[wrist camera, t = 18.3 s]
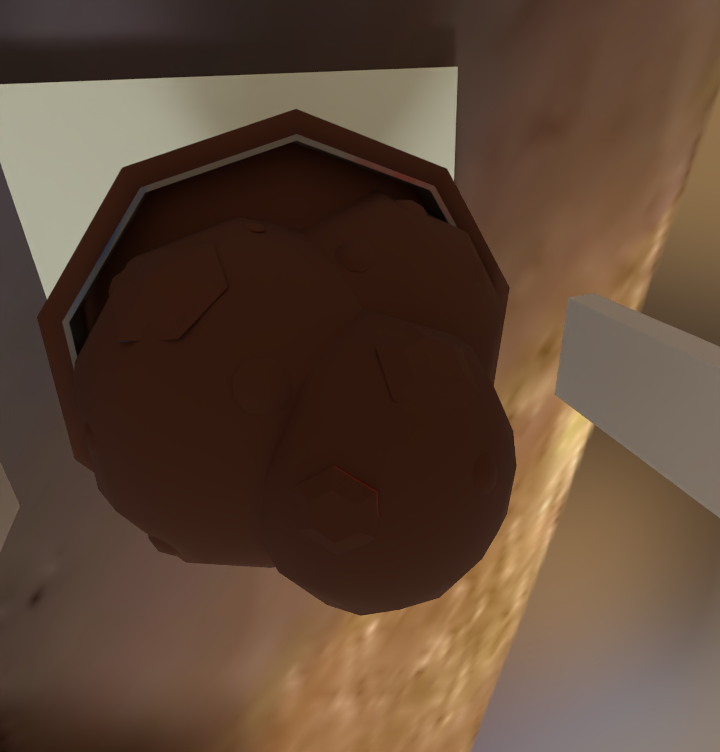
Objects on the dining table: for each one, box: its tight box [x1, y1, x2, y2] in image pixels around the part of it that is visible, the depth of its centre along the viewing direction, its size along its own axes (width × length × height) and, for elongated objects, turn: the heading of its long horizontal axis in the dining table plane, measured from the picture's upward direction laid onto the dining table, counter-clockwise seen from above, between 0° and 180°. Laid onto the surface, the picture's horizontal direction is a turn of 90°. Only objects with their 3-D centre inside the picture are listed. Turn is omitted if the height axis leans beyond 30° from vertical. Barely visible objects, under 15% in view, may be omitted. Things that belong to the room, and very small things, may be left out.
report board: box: [0, 67, 458, 299], centre depth 21 cm, size 16×13×1 cm
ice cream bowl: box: [37, 109, 516, 615], centre depth 14 cm, size 11×11×15 cm
